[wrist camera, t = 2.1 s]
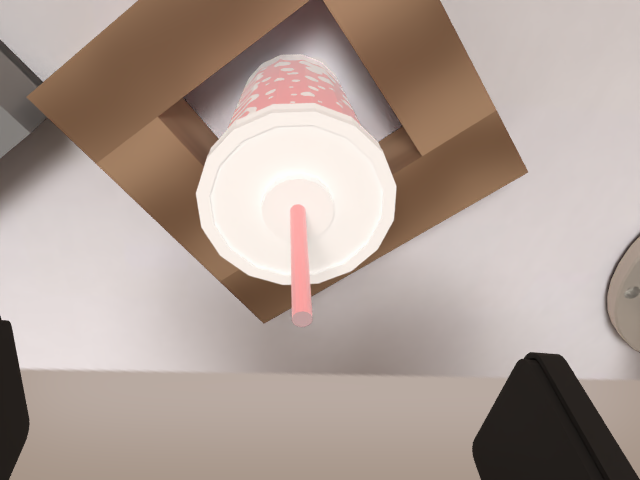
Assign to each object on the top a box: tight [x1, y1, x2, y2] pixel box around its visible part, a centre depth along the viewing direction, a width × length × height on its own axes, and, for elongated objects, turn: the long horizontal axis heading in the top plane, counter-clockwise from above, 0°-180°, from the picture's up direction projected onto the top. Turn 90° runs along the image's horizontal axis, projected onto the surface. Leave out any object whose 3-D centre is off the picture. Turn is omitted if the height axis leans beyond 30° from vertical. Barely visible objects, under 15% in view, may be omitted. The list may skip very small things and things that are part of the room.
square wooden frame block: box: [27, 0, 528, 323], centre depth 22 cm, size 14×14×4 cm
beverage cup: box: [196, 54, 397, 327], centre depth 18 cm, size 6×6×14 cm
